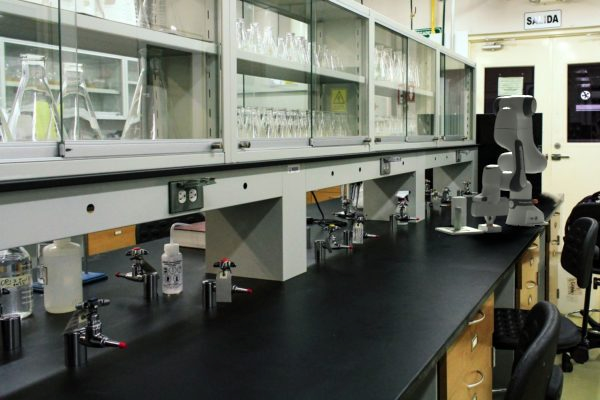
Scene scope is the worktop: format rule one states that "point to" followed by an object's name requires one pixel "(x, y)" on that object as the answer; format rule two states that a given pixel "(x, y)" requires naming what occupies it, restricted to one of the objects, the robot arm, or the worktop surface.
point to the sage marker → (458, 218)
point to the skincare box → (461, 203)
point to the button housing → (489, 228)
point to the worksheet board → (456, 232)
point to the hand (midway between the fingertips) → (489, 224)
